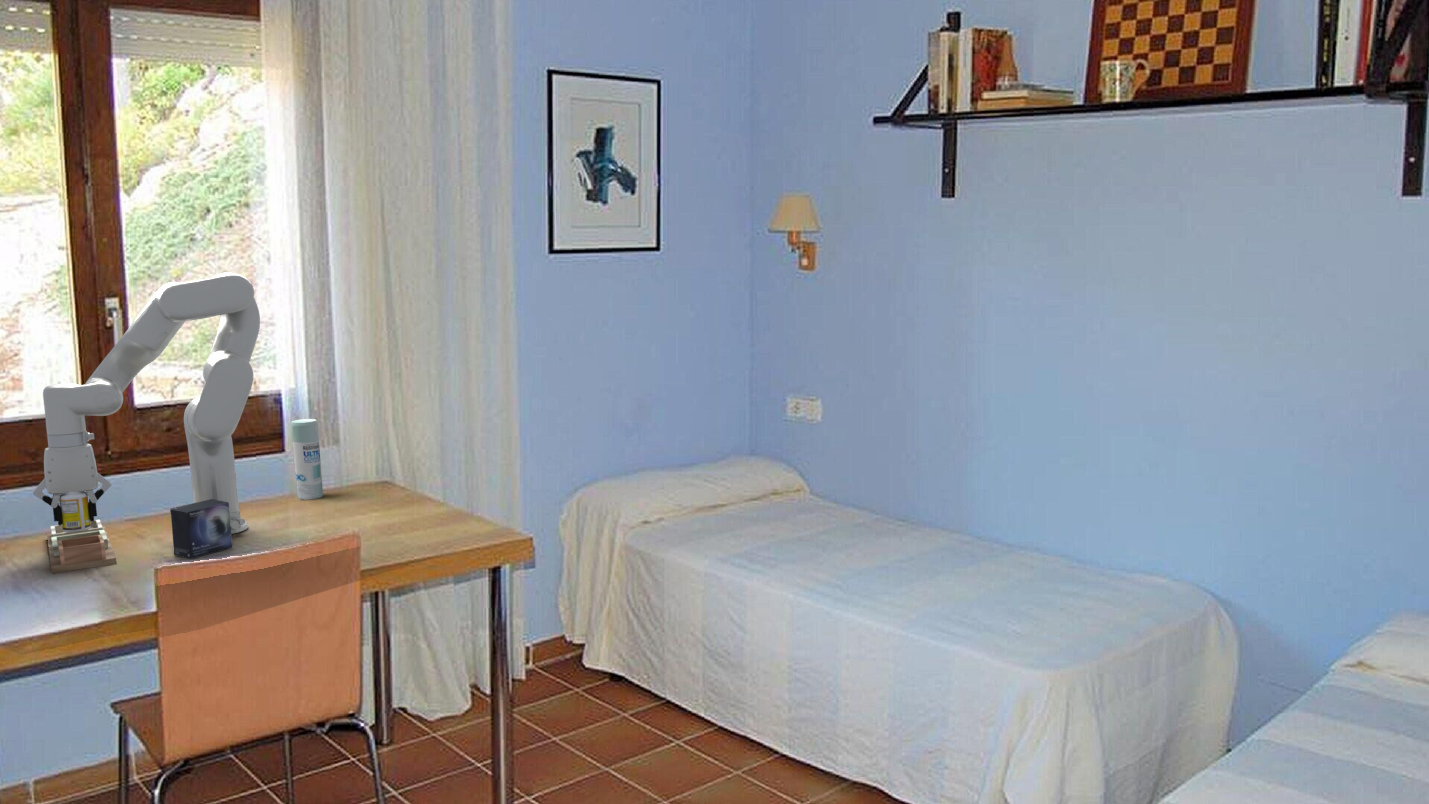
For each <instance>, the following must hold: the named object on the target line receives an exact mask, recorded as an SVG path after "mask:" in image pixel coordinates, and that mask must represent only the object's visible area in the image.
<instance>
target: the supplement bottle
mask: <svg viewBox="0 0 1429 804" xmlns="http://www.w3.org/2000/svg"><path fill="white" fill-rule="evenodd" d="M88 502H89V496H88V495H87V493H86V491H83V492H69V493H66V494H61V495H60V498H59V502H58V503H59V506H60V509H61V518H62V529H63V531H64V532H66V533H76V532H82V531H86V530H88V529H90V527H91V522H90V513H89V504H88Z"/></svg>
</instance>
